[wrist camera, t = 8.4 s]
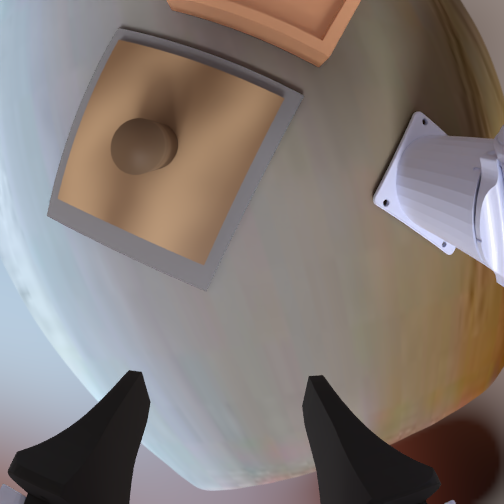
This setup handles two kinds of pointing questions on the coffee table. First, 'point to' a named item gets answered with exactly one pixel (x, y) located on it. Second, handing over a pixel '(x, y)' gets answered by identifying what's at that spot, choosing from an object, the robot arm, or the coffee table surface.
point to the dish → (280, 22)
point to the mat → (204, 273)
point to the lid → (166, 147)
